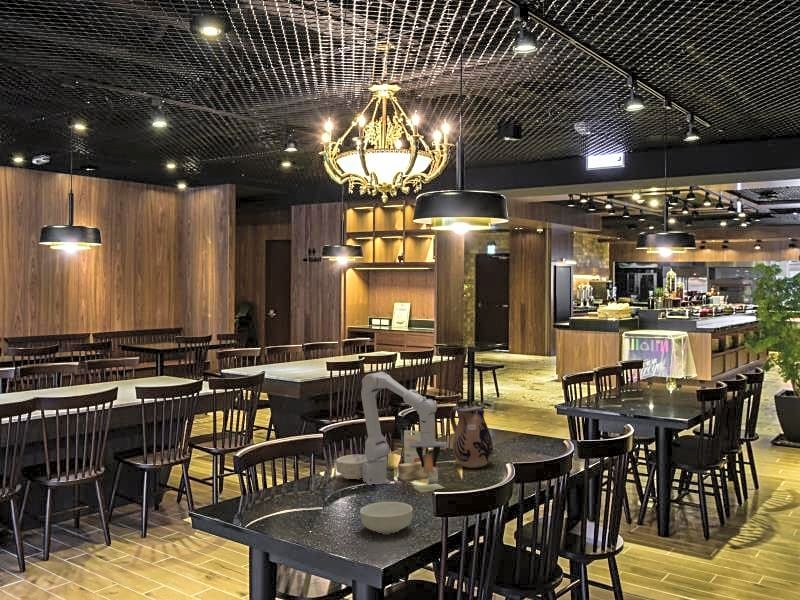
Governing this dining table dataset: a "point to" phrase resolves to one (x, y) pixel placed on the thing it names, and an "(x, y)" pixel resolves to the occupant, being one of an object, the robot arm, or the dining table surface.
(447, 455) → the dining table surface
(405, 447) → the ink cartridge box
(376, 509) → the cereal bowl
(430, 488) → the mat
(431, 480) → the grey shiny short cylinder
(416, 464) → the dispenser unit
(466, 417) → the ceramic pitcher
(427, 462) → the terracotta cap
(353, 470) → the paper bowls
